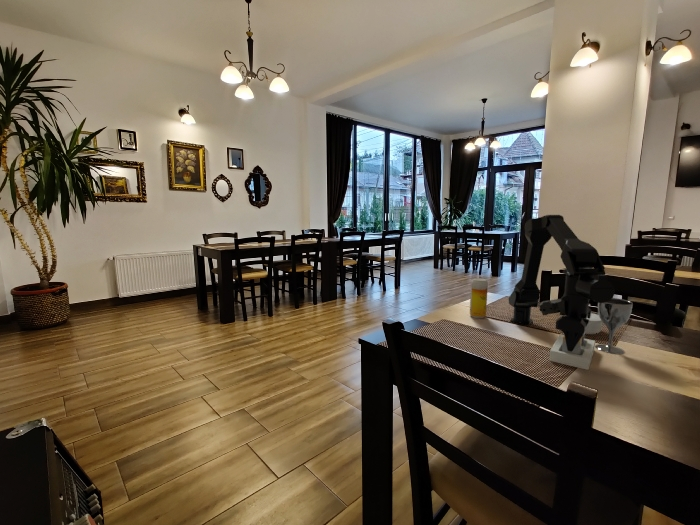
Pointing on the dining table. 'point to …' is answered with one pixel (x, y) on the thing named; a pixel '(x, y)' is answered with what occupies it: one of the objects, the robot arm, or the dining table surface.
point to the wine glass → (613, 320)
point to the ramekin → (594, 324)
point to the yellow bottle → (478, 297)
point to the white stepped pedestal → (573, 359)
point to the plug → (575, 351)
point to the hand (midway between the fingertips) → (571, 347)
